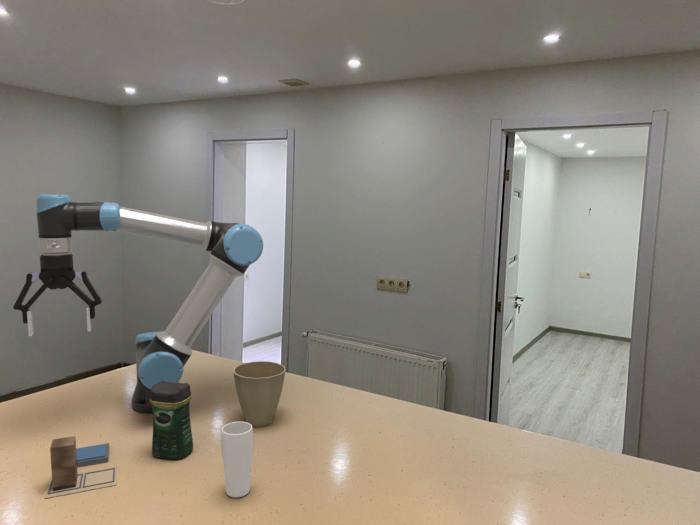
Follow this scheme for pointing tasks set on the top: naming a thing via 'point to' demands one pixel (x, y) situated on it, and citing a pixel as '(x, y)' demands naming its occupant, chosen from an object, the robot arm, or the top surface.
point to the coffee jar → (171, 420)
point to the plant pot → (259, 390)
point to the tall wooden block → (63, 463)
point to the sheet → (87, 482)
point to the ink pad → (92, 455)
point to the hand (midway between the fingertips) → (60, 332)
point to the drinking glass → (237, 457)
